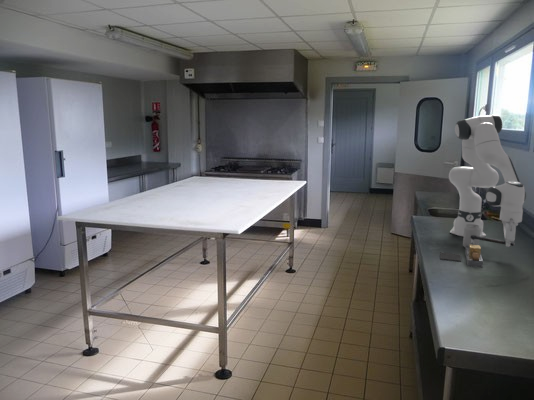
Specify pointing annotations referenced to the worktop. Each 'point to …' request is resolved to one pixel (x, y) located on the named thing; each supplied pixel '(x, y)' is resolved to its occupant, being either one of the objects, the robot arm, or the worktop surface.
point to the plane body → (473, 257)
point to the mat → (450, 257)
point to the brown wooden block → (474, 249)
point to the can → (469, 231)
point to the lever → (490, 240)
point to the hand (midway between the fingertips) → (507, 245)
